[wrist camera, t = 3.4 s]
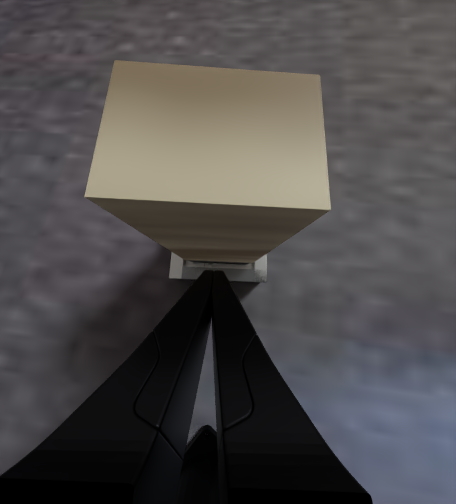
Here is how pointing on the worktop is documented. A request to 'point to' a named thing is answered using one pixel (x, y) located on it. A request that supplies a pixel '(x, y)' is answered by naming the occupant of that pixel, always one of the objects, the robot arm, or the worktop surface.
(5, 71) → the worktop surface
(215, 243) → the lever
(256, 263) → the fader track
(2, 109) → the worktop surface
